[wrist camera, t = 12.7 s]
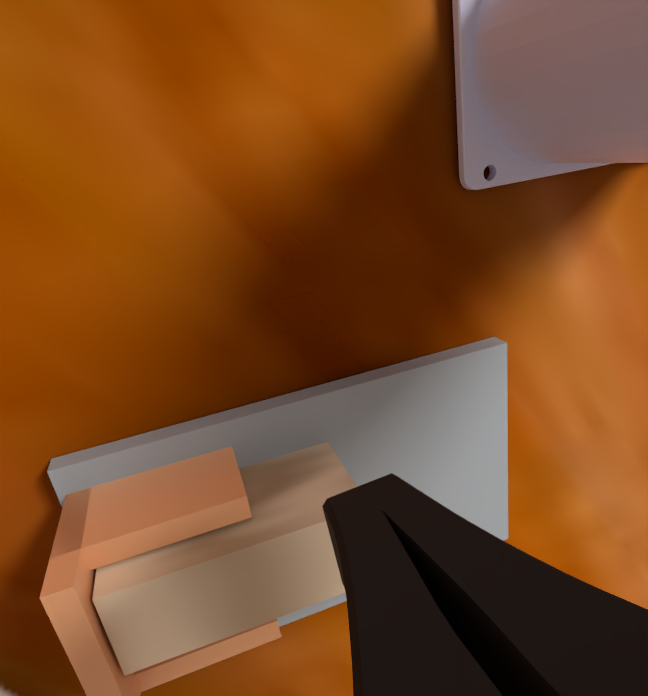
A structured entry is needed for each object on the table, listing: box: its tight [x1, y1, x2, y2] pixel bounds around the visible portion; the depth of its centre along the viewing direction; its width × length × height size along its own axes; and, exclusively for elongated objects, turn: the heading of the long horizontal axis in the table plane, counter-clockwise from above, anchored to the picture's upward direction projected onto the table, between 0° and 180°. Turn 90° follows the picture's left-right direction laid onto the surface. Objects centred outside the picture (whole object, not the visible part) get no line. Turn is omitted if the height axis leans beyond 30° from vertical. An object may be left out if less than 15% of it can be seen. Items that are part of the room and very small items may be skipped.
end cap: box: [40, 446, 282, 696], centre depth 16 cm, size 6×6×4 cm
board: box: [47, 337, 508, 627], centre depth 20 cm, size 17×10×1 cm, turn 100°
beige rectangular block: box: [92, 442, 357, 676], centre depth 17 cm, size 8×3×4 cm, turn 99°
